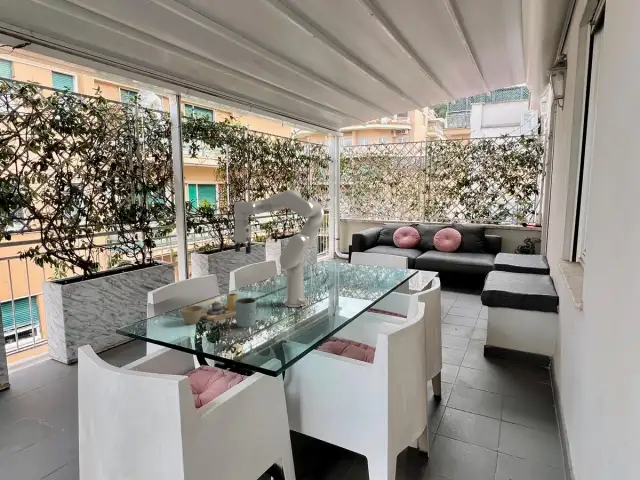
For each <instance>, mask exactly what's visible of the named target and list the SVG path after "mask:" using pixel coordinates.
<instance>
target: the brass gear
mask: <svg viewBox="0 0 640 480" xmlns="http://www.w3.org/2000/svg"><path fill="white" fill-rule="evenodd" d="M237 299H238V293H228V294H226V303H225V304H224V305H222V306H223V308H224V309H226V310H235V309H236V307H235V300H237Z"/></svg>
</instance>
